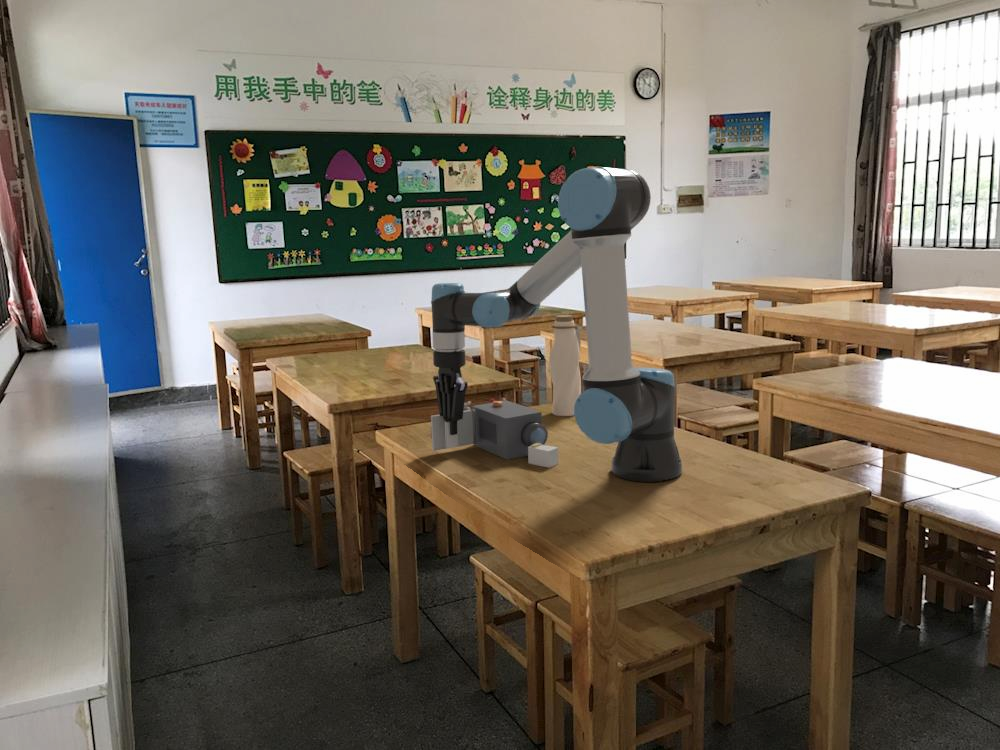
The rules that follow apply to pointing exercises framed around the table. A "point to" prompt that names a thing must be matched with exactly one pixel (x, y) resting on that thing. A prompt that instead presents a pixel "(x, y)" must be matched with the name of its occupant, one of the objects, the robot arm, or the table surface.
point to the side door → (464, 430)
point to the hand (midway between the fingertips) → (451, 447)
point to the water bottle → (565, 365)
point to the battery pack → (543, 455)
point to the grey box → (508, 428)
